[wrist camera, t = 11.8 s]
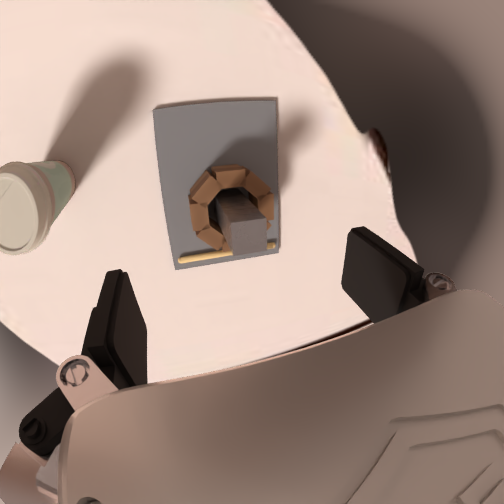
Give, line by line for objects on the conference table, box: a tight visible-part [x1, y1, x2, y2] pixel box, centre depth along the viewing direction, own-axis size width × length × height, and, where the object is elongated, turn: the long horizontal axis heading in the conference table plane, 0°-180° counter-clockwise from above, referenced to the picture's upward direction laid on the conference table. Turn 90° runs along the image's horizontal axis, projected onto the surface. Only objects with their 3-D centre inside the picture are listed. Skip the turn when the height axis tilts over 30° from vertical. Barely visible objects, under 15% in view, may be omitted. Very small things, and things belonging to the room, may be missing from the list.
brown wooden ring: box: [188, 164, 274, 252], centre depth 31 cm, size 9×9×4 cm
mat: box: [153, 101, 279, 270], centre depth 31 cm, size 20×14×1 cm
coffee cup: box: [0, 161, 75, 255], centre depth 20 cm, size 8×8×12 cm
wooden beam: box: [213, 188, 267, 256], centre depth 28 cm, size 3×3×11 cm
